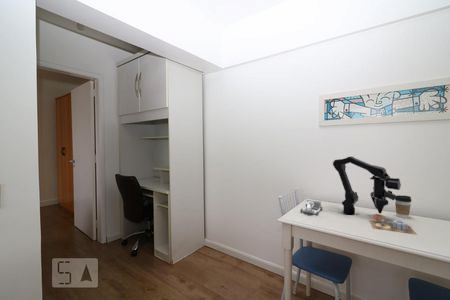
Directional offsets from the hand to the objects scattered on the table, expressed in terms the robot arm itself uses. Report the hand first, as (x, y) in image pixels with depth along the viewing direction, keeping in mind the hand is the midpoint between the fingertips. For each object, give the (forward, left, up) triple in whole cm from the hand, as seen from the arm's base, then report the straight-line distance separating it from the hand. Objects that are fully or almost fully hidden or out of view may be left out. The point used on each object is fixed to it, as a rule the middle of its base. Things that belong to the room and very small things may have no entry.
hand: (378, 210), depth 135 cm
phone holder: (-40, +1, -7) cm, 41 cm away
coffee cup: (+15, +11, -7) cm, 20 cm away
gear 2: (+8, -12, -5) cm, 15 cm away
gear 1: (0, 0, -7) cm, 7 cm away
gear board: (+4, -12, -7) cm, 14 cm away
